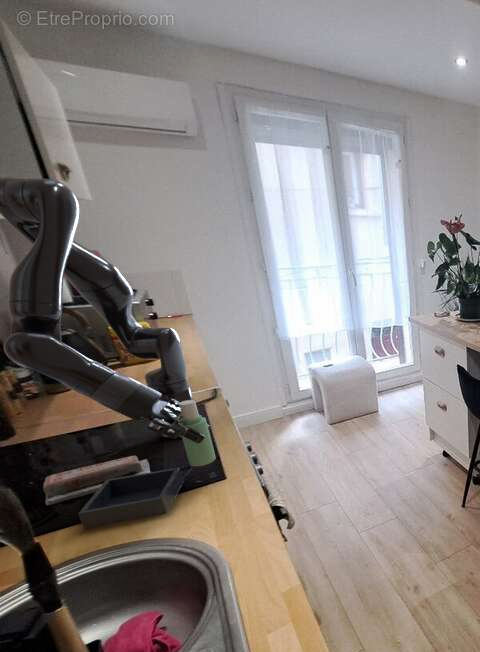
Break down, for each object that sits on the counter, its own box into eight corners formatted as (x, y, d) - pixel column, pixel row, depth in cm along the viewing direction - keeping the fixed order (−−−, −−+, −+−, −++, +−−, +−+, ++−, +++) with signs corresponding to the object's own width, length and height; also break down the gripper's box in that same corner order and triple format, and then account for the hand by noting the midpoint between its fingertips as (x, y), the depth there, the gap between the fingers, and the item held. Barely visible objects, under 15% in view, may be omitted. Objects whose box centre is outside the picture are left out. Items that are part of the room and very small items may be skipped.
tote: (112, 495, 97) (106, 479, 96) (184, 483, 103) (179, 467, 101) (85, 531, 86) (77, 513, 84) (167, 515, 92) (161, 498, 90)
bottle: (192, 458, 103) (176, 399, 98) (217, 454, 106) (203, 397, 100) (187, 468, 99) (169, 407, 94) (213, 463, 101) (197, 404, 96)
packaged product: (38, 490, 91) (41, 472, 97) (46, 508, 92) (49, 489, 99) (147, 461, 103) (143, 447, 109) (152, 478, 104) (148, 462, 111)
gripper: (126, 394, 86) (209, 435, 95) (150, 374, 98) (222, 412, 107) (100, 421, 85) (186, 460, 95) (127, 397, 97) (201, 433, 107)
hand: (205, 434), depth 101 cm, fingers closed on bottle, 5 cm apart
